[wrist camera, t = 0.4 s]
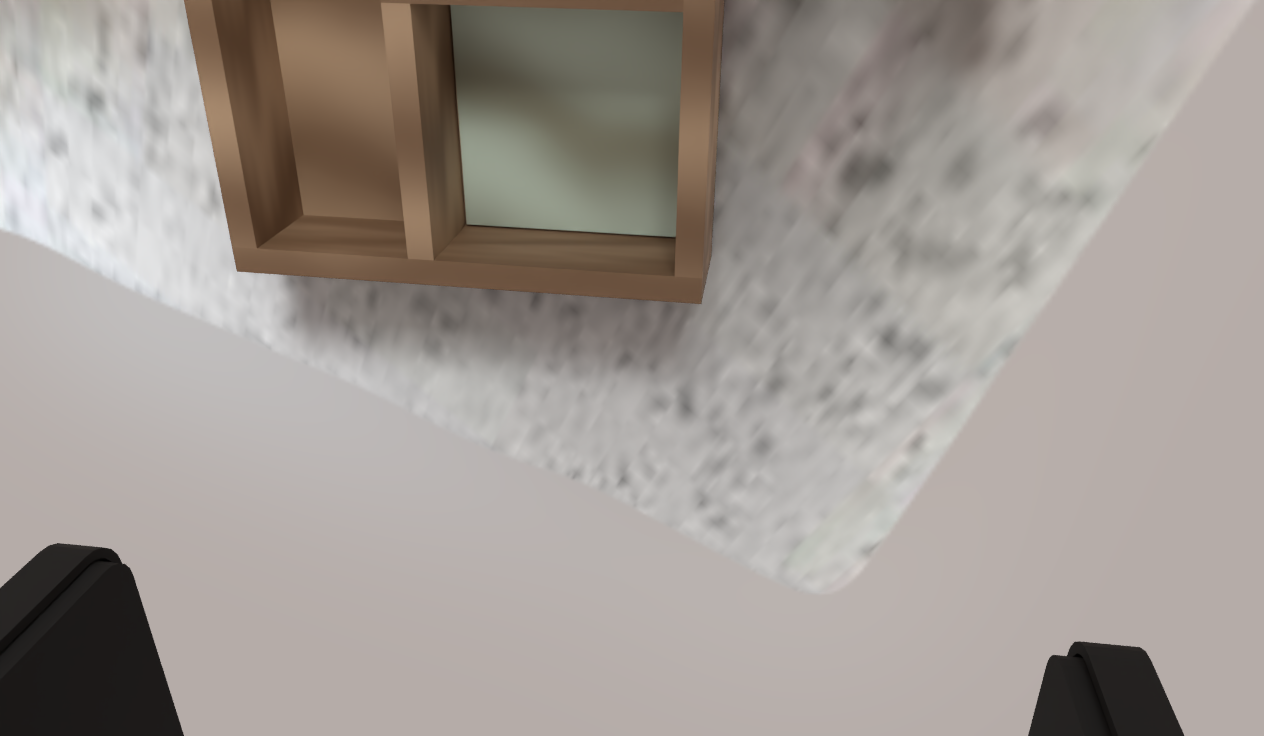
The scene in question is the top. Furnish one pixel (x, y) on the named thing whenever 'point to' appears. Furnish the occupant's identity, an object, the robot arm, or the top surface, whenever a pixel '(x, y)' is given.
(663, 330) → the top surface
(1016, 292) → the top surface
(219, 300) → the top surface
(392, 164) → the walled box
